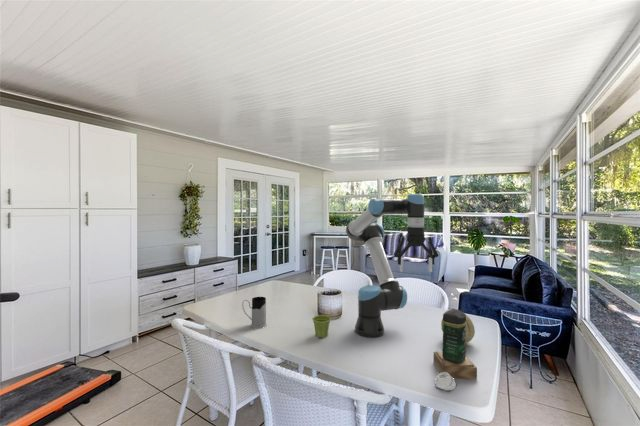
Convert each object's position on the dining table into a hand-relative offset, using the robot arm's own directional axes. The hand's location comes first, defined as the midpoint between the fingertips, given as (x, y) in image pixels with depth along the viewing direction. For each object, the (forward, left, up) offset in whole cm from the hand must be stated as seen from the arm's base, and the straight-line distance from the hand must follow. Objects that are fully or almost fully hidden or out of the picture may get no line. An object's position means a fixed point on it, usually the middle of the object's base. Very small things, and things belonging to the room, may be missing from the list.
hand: (415, 271), depth 140 cm
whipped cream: (+1, -33, -35) cm, 48 cm away
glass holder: (-83, +21, -35) cm, 92 cm away
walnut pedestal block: (+9, -22, -35) cm, 42 cm away
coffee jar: (+9, -22, -30) cm, 38 cm away
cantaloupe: (+21, +4, -35) cm, 41 cm away
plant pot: (-45, +9, -35) cm, 58 cm away
